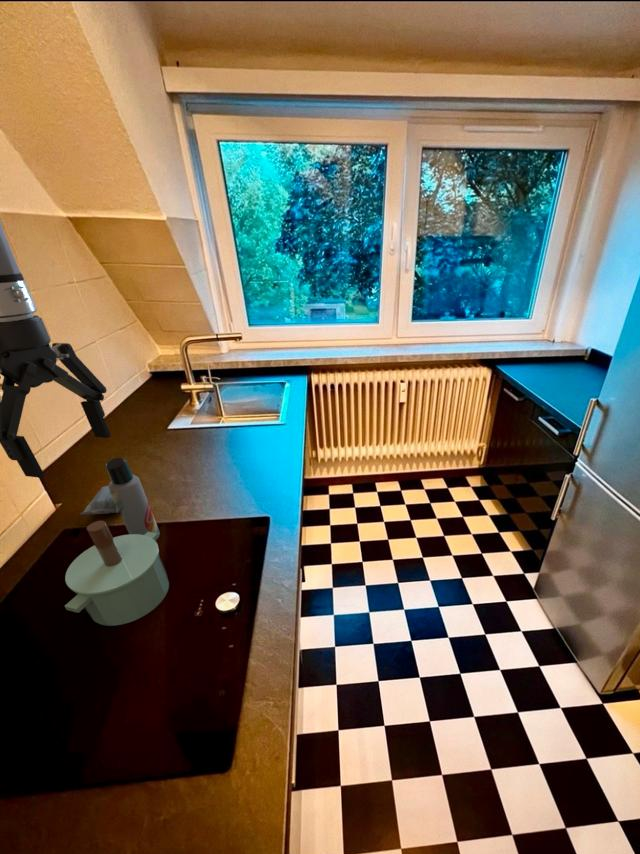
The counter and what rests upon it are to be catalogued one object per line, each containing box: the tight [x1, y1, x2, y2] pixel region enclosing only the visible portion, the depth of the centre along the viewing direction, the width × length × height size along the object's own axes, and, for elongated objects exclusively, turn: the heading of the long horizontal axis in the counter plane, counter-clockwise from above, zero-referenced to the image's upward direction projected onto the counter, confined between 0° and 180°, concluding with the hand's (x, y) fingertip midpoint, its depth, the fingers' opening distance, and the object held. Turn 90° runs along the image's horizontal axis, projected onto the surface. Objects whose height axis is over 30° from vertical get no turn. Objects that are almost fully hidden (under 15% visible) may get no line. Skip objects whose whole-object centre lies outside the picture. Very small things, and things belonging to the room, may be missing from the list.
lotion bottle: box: [104, 456, 161, 536], centre depth 82 cm, size 6×6×20 cm
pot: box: [64, 532, 170, 627], centre depth 71 cm, size 14×19×8 cm
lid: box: [64, 520, 160, 595], centre depth 67 cm, size 15×15×9 cm
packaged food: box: [79, 485, 120, 516], centre depth 97 cm, size 9×12×5 cm
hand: (72, 454), depth 64 cm, fingers open, 13 cm apart
